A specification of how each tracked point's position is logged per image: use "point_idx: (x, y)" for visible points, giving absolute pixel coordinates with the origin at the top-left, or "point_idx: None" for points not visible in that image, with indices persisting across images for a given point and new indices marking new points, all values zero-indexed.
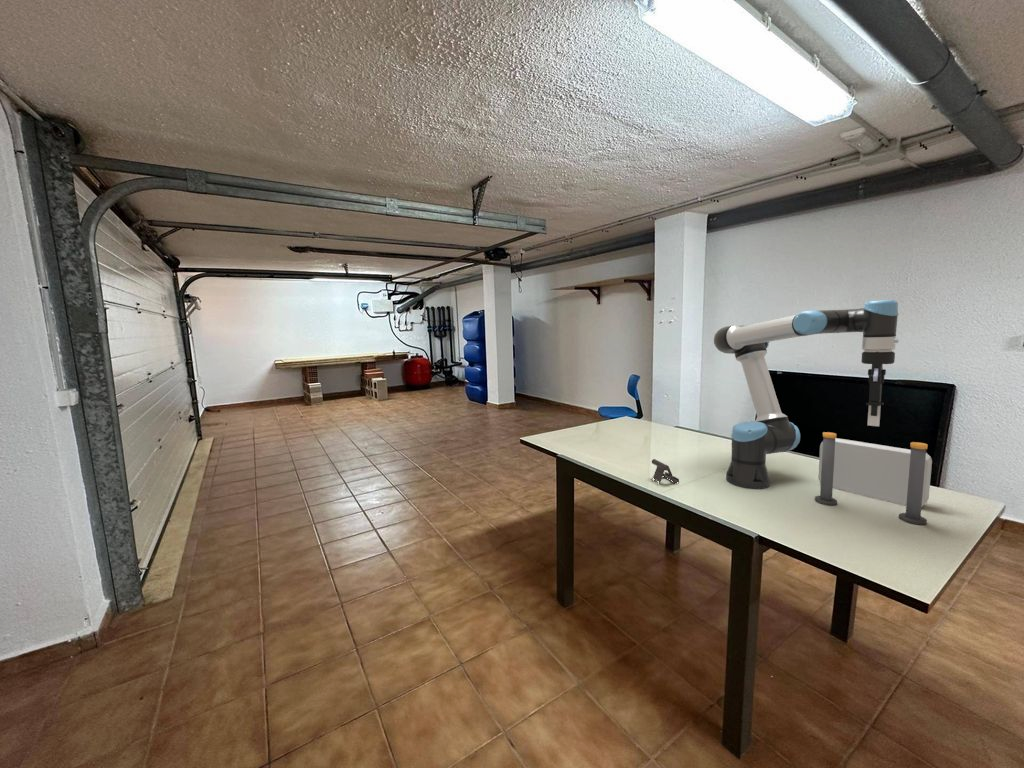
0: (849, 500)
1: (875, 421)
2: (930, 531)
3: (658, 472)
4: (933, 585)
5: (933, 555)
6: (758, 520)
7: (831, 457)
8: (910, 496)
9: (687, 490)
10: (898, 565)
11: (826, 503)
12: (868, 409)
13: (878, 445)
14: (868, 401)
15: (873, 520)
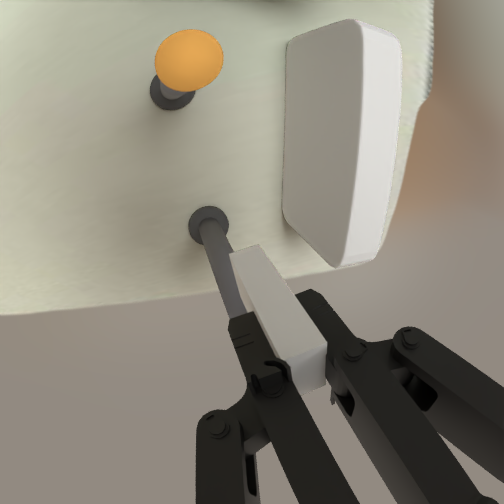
0: (227, 115)
1: (245, 301)
2: (179, 255)
3: None
4: (21, 310)
5: (90, 287)
6: None
7: (167, 90)
8: (206, 246)
9: None
10: (24, 277)
11: (152, 98)
12: (267, 329)
13: (386, 165)
14: (213, 434)
15: (145, 188)
